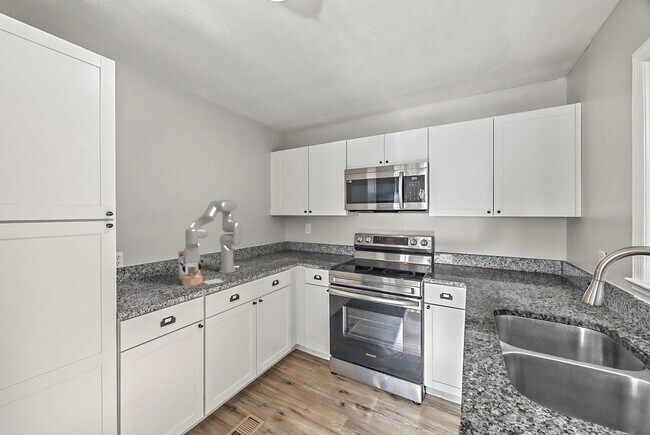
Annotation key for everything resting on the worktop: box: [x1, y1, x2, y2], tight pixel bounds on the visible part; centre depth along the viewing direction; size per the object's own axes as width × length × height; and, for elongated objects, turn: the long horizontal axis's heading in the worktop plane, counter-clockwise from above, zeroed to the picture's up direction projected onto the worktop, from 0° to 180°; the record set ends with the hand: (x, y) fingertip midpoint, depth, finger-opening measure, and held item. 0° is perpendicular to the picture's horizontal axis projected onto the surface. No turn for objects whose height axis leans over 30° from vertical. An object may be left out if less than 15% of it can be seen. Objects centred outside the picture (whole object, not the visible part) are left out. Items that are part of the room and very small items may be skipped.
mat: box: [202, 278, 225, 285], centre depth 190 cm, size 11×11×1 cm
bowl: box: [181, 275, 203, 287], centre depth 186 cm, size 12×12×5 cm
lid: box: [183, 267, 203, 279], centre depth 186 cm, size 12×12×6 cm
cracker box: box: [177, 250, 201, 281], centre depth 201 cm, size 14×6×21 cm, turn 129°
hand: (192, 270), depth 186 cm, fingers open, 9 cm apart
